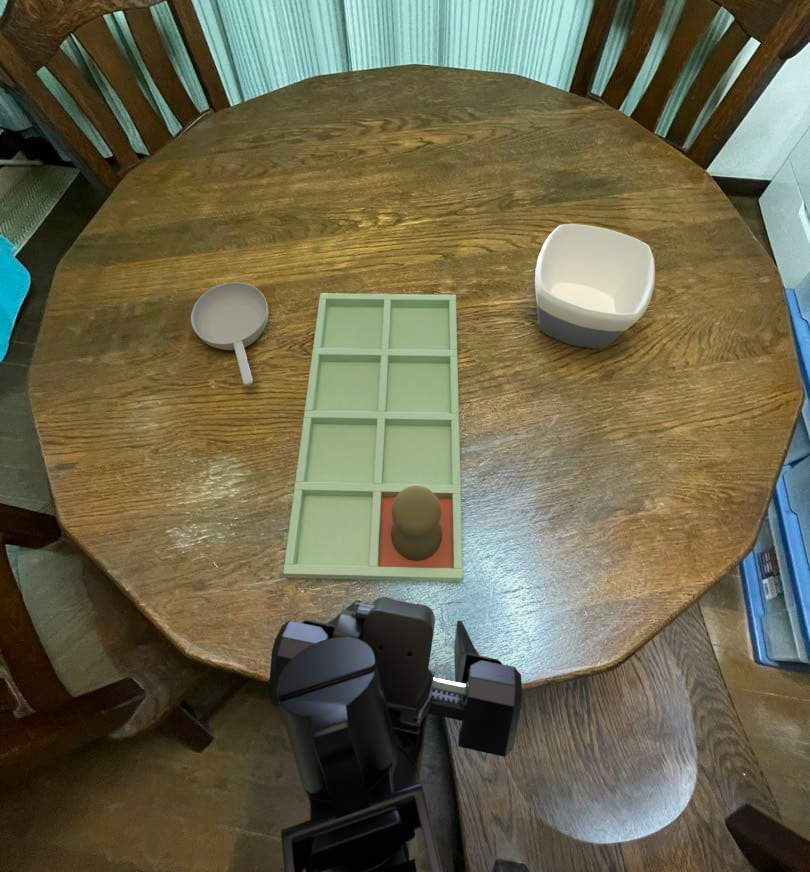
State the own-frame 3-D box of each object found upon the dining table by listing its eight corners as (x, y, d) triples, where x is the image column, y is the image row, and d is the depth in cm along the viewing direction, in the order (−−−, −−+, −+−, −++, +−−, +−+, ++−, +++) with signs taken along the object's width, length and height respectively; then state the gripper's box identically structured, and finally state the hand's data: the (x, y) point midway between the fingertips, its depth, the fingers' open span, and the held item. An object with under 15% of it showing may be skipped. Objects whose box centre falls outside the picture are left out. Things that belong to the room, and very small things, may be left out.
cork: (383, 551, 68) (378, 525, 59) (400, 502, 72) (397, 470, 62) (433, 568, 67) (436, 544, 58) (448, 517, 70) (452, 487, 61)
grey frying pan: (262, 287, 91) (257, 272, 87) (293, 384, 81) (288, 370, 78) (192, 308, 89) (184, 293, 85) (216, 410, 79) (207, 397, 76)
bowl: (537, 263, 92) (551, 212, 83) (638, 289, 89) (663, 239, 80) (513, 342, 84) (525, 295, 75) (622, 373, 81) (649, 328, 72)
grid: (461, 582, 67) (463, 578, 65) (286, 577, 68) (282, 573, 66) (455, 304, 88) (455, 294, 86) (322, 302, 89) (320, 293, 87)
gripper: (542, 701, 35) (527, 554, 50) (243, 638, 37) (315, 514, 52) (513, 848, 37) (506, 665, 53) (234, 780, 39) (305, 623, 55)
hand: (408, 614), depth 53 cm, fingers open, 9 cm apart
